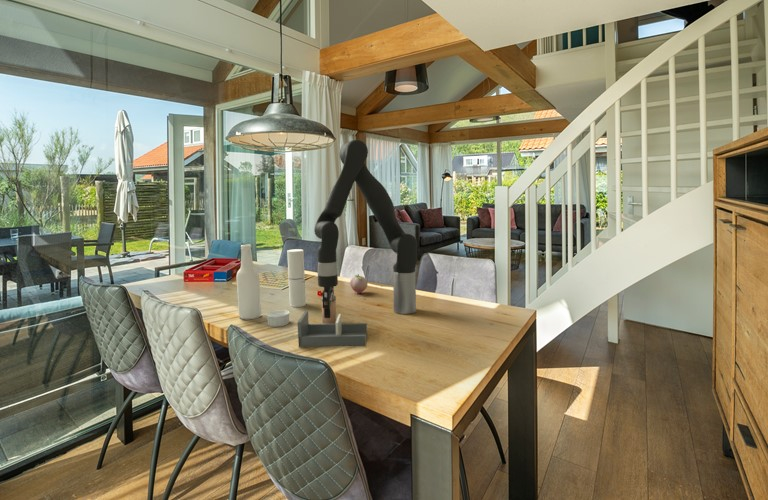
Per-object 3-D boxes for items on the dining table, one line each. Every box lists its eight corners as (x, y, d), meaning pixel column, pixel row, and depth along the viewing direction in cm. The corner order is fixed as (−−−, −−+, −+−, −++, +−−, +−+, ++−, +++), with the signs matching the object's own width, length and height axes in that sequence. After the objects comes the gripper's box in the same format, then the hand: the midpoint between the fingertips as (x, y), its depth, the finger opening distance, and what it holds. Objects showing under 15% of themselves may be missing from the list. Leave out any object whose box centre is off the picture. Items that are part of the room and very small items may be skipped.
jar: (337, 321, 157) (336, 295, 156) (335, 325, 152) (334, 298, 150) (323, 321, 157) (322, 295, 156) (321, 326, 152) (320, 299, 150)
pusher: (341, 332, 143) (341, 313, 142) (338, 343, 133) (337, 322, 132) (339, 332, 143) (338, 313, 142) (336, 343, 133) (335, 323, 132)
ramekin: (271, 329, 149) (271, 317, 149) (263, 323, 157) (262, 312, 156) (293, 324, 155) (293, 313, 154) (284, 318, 162) (284, 308, 161)
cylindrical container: (286, 304, 181) (284, 250, 178) (300, 301, 186) (297, 248, 183) (295, 307, 176) (292, 252, 173) (308, 304, 181) (306, 250, 178)
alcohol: (266, 315, 166) (261, 244, 161) (248, 321, 158) (243, 246, 154) (252, 312, 171) (248, 242, 166) (234, 317, 163) (229, 245, 159)
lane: (366, 332, 144) (366, 309, 143) (365, 346, 131) (364, 321, 130) (306, 333, 144) (305, 310, 143) (298, 347, 131) (297, 322, 130)
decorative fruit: (371, 294, 198) (370, 274, 197) (356, 296, 194) (355, 276, 193) (362, 290, 206) (362, 271, 205) (348, 292, 202) (347, 273, 201)
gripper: (335, 277, 145) (336, 320, 147) (339, 269, 159) (340, 309, 161) (314, 277, 145) (316, 320, 147) (320, 269, 159) (322, 309, 161)
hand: (329, 314), depth 154 cm, fingers open, 8 cm apart
